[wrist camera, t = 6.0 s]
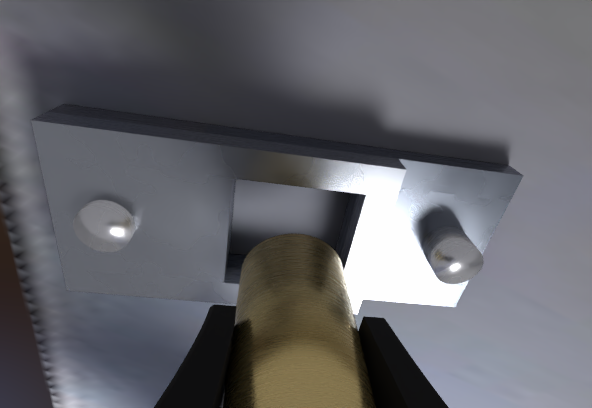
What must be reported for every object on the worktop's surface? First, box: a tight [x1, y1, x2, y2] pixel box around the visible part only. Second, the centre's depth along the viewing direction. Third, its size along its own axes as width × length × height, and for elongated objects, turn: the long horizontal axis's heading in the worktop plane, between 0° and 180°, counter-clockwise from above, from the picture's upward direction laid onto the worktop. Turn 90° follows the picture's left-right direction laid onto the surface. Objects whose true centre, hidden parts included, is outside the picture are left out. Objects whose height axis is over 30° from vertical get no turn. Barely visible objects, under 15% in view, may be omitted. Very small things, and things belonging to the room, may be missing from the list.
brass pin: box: [223, 234, 376, 408], centre depth 10 cm, size 4×4×7 cm
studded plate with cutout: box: [31, 104, 523, 314], centre depth 15 cm, size 7×18×2 cm, turn 81°
